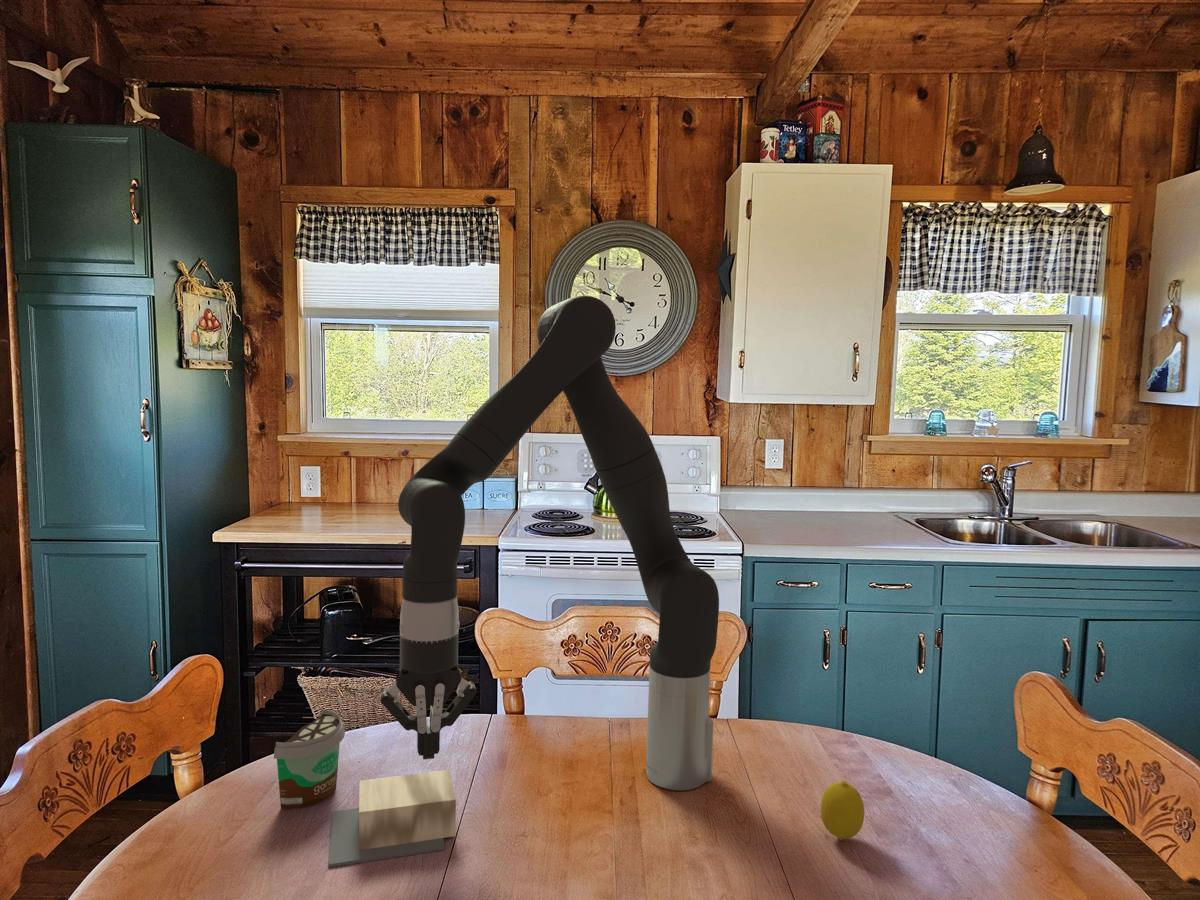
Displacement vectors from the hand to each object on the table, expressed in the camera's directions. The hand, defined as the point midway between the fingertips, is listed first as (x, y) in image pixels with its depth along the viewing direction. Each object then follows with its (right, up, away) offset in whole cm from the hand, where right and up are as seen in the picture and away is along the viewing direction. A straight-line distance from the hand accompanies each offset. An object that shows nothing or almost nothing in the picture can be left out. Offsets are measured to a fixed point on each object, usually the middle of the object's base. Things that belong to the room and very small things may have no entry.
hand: (428, 756), depth 102 cm
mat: (-5, -10, -1) cm, 11 cm away
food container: (-17, -9, +8) cm, 21 cm away
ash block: (+3, -7, +2) cm, 8 cm away
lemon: (+55, -11, 0) cm, 56 cm away
